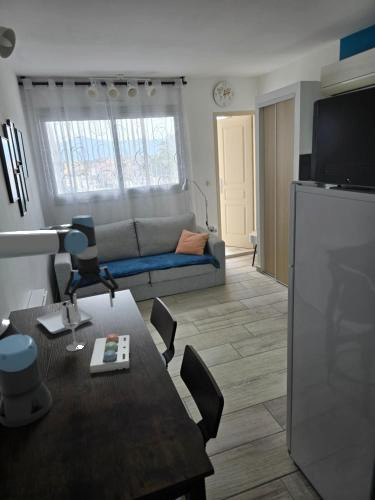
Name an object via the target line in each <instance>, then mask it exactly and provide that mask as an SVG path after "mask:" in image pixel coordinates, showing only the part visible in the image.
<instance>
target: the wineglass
mask: <svg viewBox="0 0 375 500" xmlns="http://www.w3.org/2000/svg"><path fill="white" fill-rule="evenodd" d="M77 306H78V307H79V305H78V304H77ZM61 310H62V313H61V320H62V324H63V326H65V327H66V328H68V330H71V332H72V336H73V342H71V343H69V344H67V346H66V350H67V351H68V352H76V351H79V350H82V349H83V348H84V347H85V345H86V344H85V342H84V341H78V340H77V341H76V335H75V329H76V328H78V327H79V326H80V325H79V324H80V323H81V314H80V310H79V308H78V310H77V312H75V308H74V303H73V304H71V301H70V300H67V301H64V302H63V303H62V304H61Z"/></svg>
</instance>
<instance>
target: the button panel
mask: <svg viewBox="0 0 375 500" xmlns="http://www.w3.org/2000/svg"><path fill="white" fill-rule="evenodd" d="M117 339H118V343H116V345H117V351H116V352H115V354H116V361H115V362H107V363H105V362H104V353H105V352H106V349H105V344H106V343H107V338H106V337H102V338H101V337H100V338H95V343H94V346H93V350H92V355H91V360H90V364H89V368H90V369H89V370H90V374H94V373H101V372H109V371H117V370H116V369H118V370H124V369H123V368H125V369H130V358H129V353H131V352H130V351H131V350H130V349H131V348H130V346H131V339H130V334H126V335H125V334H123V335H117Z"/></svg>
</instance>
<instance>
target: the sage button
mask: <svg viewBox="0 0 375 500" xmlns="http://www.w3.org/2000/svg"><path fill="white" fill-rule="evenodd" d="M105 349H106V352H107V351H110V350H112V351H115V352H116V351H117V345H116V343H115V342H108V343H106V344H105Z"/></svg>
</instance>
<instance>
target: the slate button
mask: <svg viewBox="0 0 375 500" xmlns="http://www.w3.org/2000/svg"><path fill="white" fill-rule="evenodd" d="M115 361H116V354H115V351H112V350H110V351H107V352H105V353H104V362H105V363H107V362H115Z"/></svg>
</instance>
